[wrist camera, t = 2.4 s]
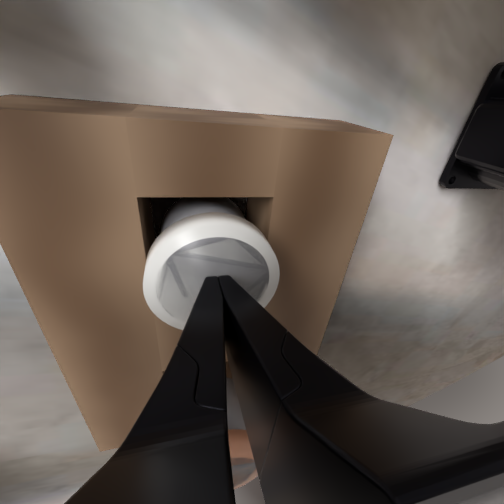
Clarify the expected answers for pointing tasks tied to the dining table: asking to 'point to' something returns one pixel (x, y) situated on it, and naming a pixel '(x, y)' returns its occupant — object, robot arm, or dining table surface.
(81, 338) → the wooden socket block
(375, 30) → the dining table surface
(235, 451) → the plug
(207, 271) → the plug
